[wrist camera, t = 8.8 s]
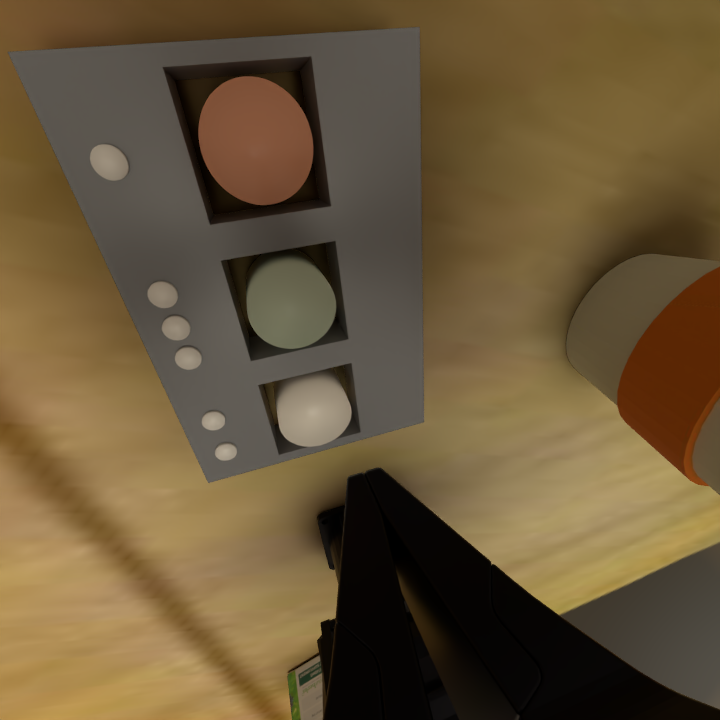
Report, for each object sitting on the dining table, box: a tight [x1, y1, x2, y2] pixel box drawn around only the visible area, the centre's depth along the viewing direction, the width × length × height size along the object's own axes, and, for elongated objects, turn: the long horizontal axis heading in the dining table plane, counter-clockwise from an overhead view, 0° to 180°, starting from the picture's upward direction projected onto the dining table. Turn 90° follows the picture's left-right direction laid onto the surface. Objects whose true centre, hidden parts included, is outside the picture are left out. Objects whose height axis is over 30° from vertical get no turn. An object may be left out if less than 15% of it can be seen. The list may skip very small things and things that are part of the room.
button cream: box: [273, 367, 352, 447], centre depth 19 cm, size 4×4×3 cm
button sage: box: [246, 249, 336, 349], centre depth 16 cm, size 4×4×3 cm
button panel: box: [8, 27, 424, 483], centre depth 16 cm, size 17×12×3 cm
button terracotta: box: [198, 76, 313, 205], centre depth 13 cm, size 4×4×3 cm
